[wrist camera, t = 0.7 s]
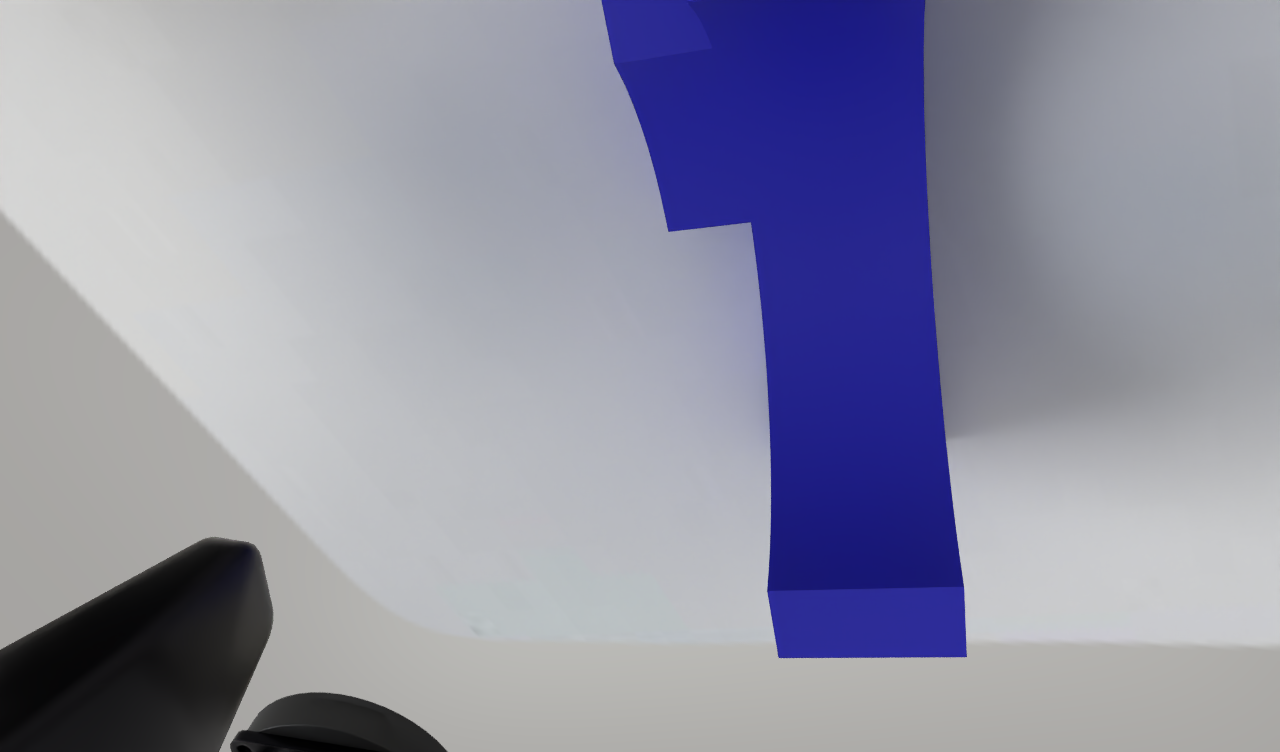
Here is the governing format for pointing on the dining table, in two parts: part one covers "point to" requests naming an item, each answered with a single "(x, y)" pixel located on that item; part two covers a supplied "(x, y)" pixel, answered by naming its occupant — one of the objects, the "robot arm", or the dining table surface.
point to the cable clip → (821, 291)
